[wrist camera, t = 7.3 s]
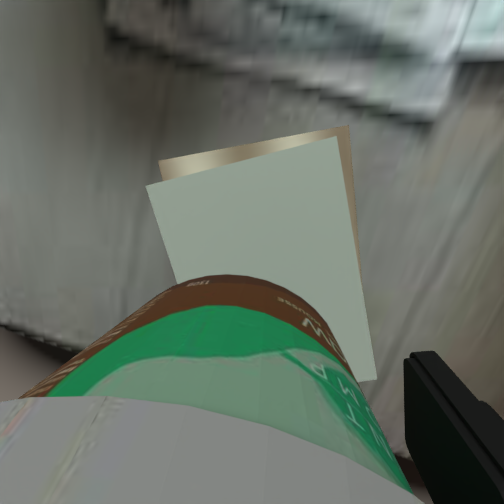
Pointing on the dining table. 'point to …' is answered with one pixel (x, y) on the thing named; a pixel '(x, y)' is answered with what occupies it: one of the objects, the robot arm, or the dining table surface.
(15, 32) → the dining table surface
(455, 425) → the robot arm
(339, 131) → the lower slab
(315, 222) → the upper slab
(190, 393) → the food container
